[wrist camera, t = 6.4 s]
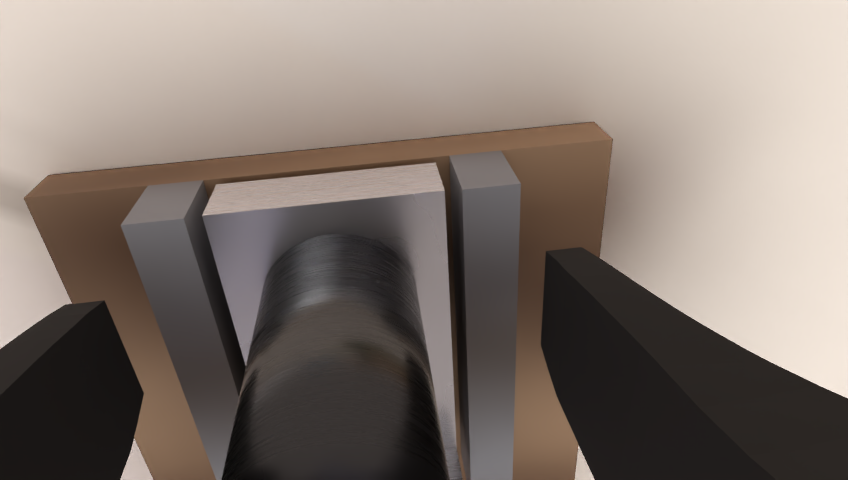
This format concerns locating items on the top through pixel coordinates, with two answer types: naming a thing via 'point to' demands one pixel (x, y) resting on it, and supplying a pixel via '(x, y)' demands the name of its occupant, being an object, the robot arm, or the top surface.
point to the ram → (339, 325)
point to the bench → (467, 266)
